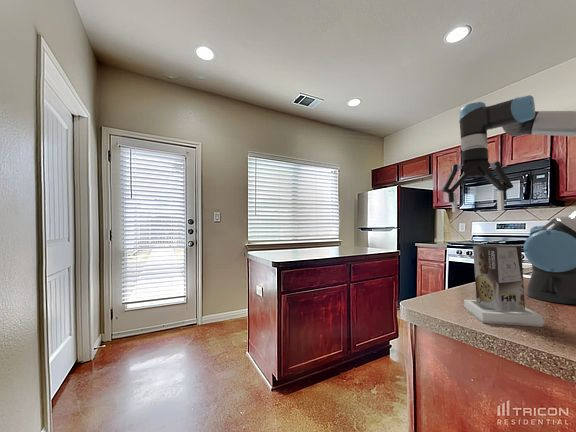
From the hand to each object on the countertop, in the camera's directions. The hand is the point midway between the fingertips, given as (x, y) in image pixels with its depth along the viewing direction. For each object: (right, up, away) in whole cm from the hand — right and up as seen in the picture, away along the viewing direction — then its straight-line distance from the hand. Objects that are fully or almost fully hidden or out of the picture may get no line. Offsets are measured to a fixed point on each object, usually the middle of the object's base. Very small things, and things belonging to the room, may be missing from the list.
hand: (477, 211), depth 90 cm
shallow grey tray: (-9, -28, -21) cm, 36 cm away
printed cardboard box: (-9, -26, -21) cm, 34 cm away
